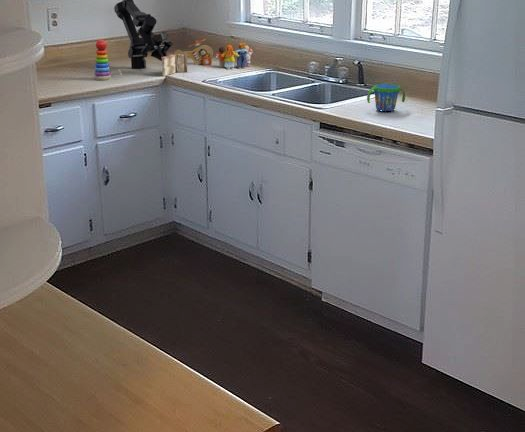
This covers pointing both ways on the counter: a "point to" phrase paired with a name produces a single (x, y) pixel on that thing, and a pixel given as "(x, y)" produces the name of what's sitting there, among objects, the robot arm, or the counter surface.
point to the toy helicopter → (195, 56)
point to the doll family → (229, 60)
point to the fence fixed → (182, 62)
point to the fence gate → (169, 64)
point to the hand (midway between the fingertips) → (167, 62)
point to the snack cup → (386, 96)
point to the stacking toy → (101, 62)
